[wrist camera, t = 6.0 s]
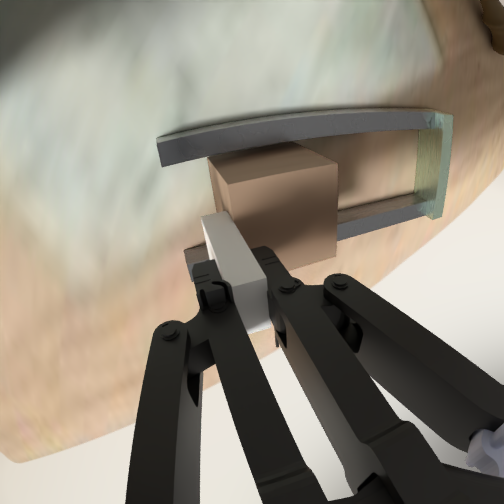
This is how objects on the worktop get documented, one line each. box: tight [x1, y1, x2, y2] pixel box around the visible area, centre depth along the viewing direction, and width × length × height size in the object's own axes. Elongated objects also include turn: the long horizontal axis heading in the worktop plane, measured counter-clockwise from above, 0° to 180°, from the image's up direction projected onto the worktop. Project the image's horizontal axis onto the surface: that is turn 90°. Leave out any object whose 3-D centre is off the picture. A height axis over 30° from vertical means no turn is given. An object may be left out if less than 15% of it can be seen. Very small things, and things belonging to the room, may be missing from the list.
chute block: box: [207, 142, 338, 271], centre depth 19 cm, size 6×6×6 cm
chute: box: [156, 108, 453, 282], centre depth 21 cm, size 10×24×3 cm, turn 97°
